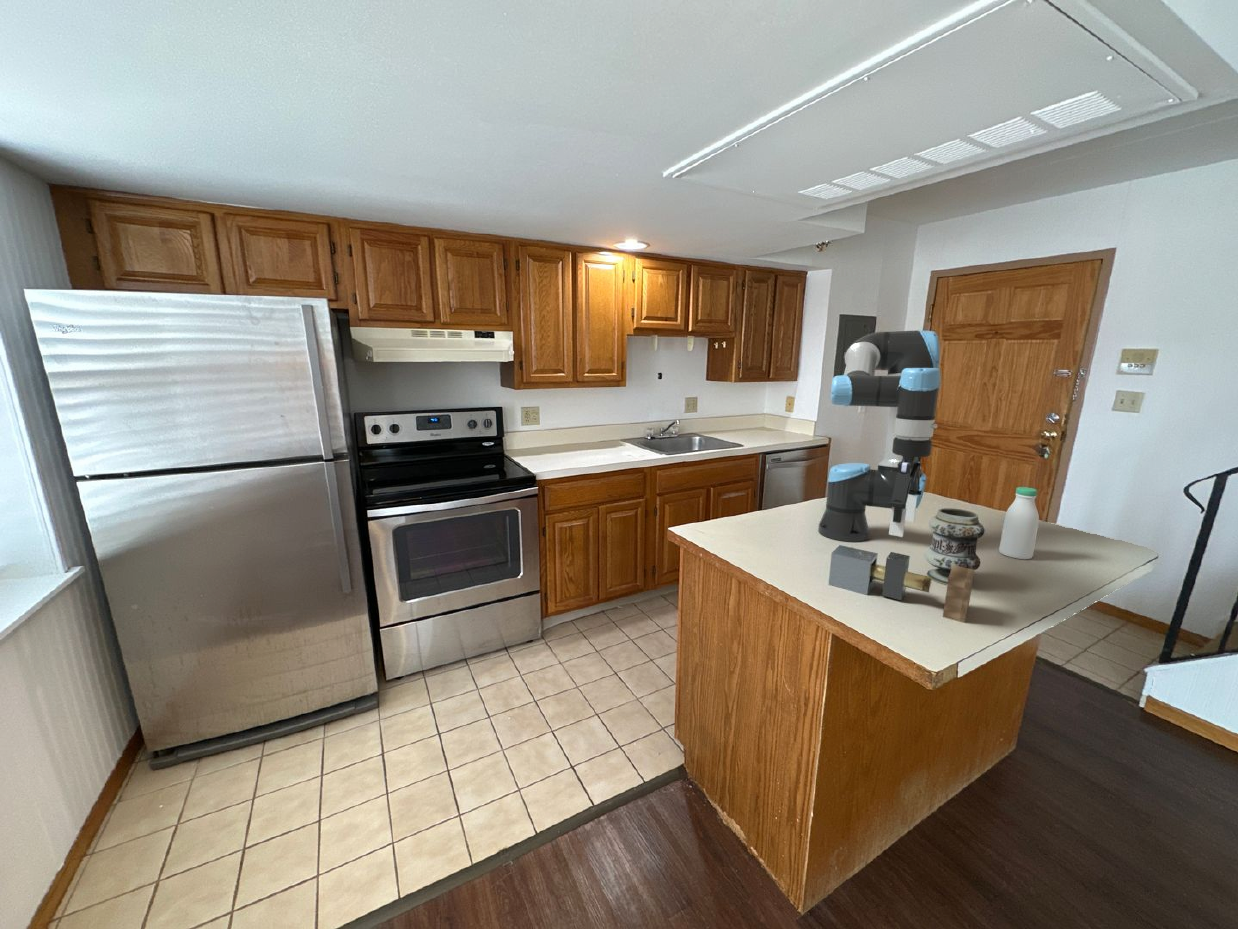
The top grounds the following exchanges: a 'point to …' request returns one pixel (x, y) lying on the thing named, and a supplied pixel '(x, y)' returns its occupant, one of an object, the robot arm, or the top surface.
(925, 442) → the robot arm
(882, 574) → the tube
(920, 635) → the top surface
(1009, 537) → the milk bottle
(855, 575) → the sleeve
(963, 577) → the socket block
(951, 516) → the apothecary jar
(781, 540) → the top surface
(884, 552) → the top surface
